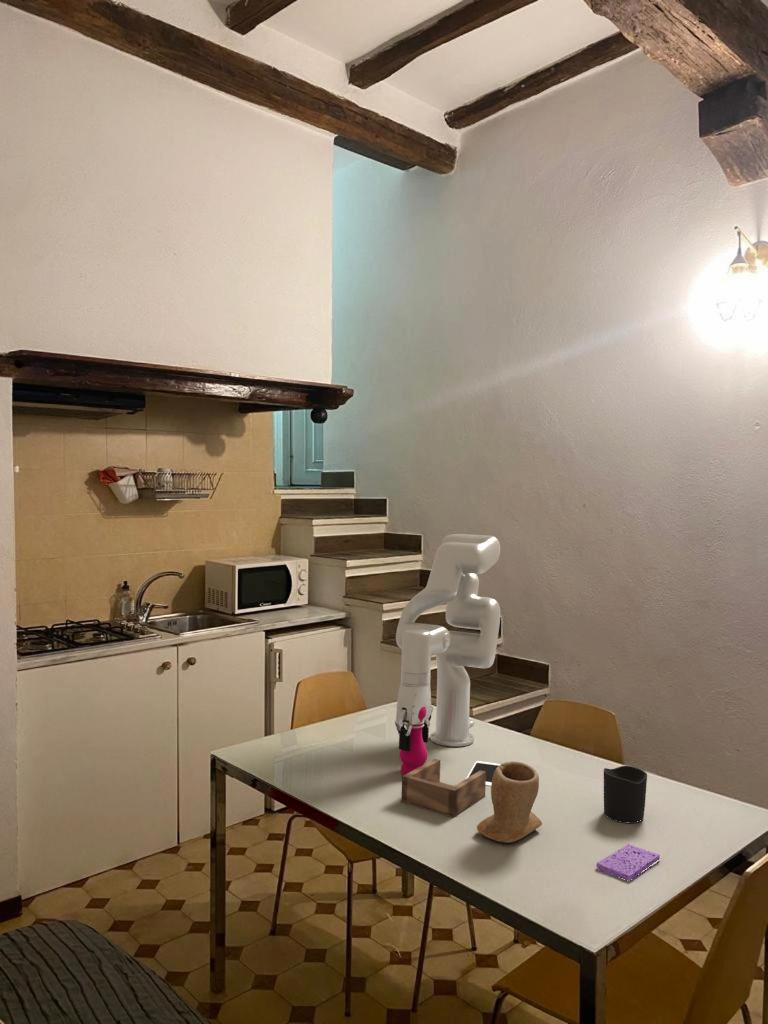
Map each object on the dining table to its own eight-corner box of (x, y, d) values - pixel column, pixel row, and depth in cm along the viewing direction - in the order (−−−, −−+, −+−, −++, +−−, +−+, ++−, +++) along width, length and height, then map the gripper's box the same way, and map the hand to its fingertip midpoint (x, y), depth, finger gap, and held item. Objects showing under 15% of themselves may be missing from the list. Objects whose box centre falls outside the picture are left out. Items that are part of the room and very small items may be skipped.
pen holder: (644, 827, 173) (646, 782, 173) (600, 820, 177) (601, 776, 176) (646, 811, 182) (647, 768, 182) (604, 804, 185) (605, 762, 185)
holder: (434, 782, 196) (435, 758, 196) (485, 796, 188) (485, 771, 188) (401, 801, 184) (402, 776, 184) (454, 817, 176) (454, 790, 176)
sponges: (660, 863, 158) (660, 854, 158) (628, 884, 149) (629, 875, 149) (627, 851, 163) (627, 842, 163) (595, 871, 154) (595, 861, 154)
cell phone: (463, 784, 197) (464, 781, 197) (476, 762, 212) (476, 760, 212) (495, 788, 195) (495, 786, 195) (505, 766, 210) (505, 764, 210)
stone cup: (515, 854, 159) (518, 780, 158) (469, 835, 167) (471, 764, 167) (556, 832, 170) (559, 763, 169) (511, 815, 178) (513, 749, 178)
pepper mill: (427, 768, 206) (429, 692, 205) (426, 778, 199) (428, 699, 198) (400, 766, 207) (402, 690, 206) (397, 776, 200) (400, 698, 199)
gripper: (421, 669, 211) (419, 734, 212) (384, 681, 197) (382, 751, 198) (445, 674, 207) (443, 740, 208) (409, 686, 193) (407, 758, 193)
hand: (413, 745), depth 203 cm, fingers open, 7 cm apart
